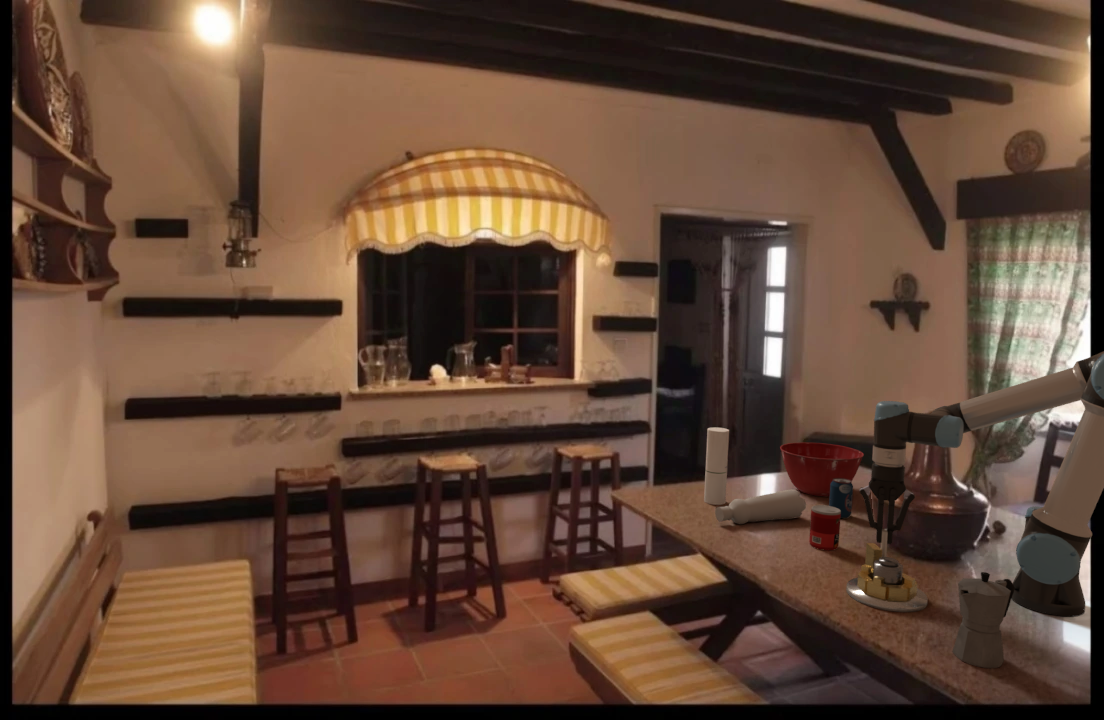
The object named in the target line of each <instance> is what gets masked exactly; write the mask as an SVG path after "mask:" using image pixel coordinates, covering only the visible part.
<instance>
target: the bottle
mask: <svg viewBox="0 0 1104 720" xmlns="http://www.w3.org/2000/svg"><path fill="white" fill-rule="evenodd" d="M800 495H801V491H797V489H793V488H792V489H786V490H785V489H784V490H779V491H776V492H773V493H767V494H762V495H757V496H752V497H751V496H750V497H747V498H745V499H742V498H735V499H733V500H732V501H731V502H729V504H728V505H725V506H717V507H716V508H715V510H714V511H715V512H714V514H715V519H716V520H717V521H718V522H726V521H732V522H733V523H735V524H738V525H744V524H746V523H748V522H749V523H750V522H753V523H755V522H763V521H774V520H789V519H791V520H792V519H795V518H797V519H798V518H800V517H801V516H802V515H803V512H804V510H806V509H807V507H806V506H807V504H806V499H804V498H803V497H801V496H800Z"/></svg>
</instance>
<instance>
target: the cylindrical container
mask: <svg viewBox="0 0 1104 720" xmlns="http://www.w3.org/2000/svg"><path fill="white" fill-rule="evenodd" d="M706 430H707V433H706V435H707V436H706V454H705V475H704V494H703V496H704V497H703V502H704V503H706V504H708V505H714V506H715V505H716V506H719V505H720V506H721V505H724V504H726V497H727V479H728V478H727V477H728V476H727V475H728V461H729V460H728V457H729V444H730V443H729V441H730V429H727V428H724V427H708V428H707V429H706Z"/></svg>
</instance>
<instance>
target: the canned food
mask: <svg viewBox="0 0 1104 720" xmlns="http://www.w3.org/2000/svg"><path fill="white" fill-rule="evenodd" d="M840 518H841V510H840V509H838V508H835V507H832V506H829V505H826V504H825V505H824V504H815V505H812V506H811V511H810V522H809V523H810V524H809V539H808V540H809V541H808V542H809V545H810V546H811V548H814V547H815V549H817V548H818V549H817V550H821V549H824V550H823V551H835V550H834V549H836V550H838V548H839V546H840V545H839V543H840V530H841V519H840Z"/></svg>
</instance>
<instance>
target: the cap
mask: <svg viewBox="0 0 1104 720" xmlns="http://www.w3.org/2000/svg"><path fill="white" fill-rule="evenodd" d="M903 571H904V566H903V564H901V563H900V562H899V560H898V559H896V558H894V557H891V556H890V557H889V556H886V557H880V558H879V560H875V561H874V570H873V578H874V577H875V576H880V577H883V578H884V584H886V585H902V573H904V572H903ZM857 584H858V577H854V578H852V579H850V580H849V581H847V582H846V593H847V594H848V596H849V597H851V598H852V599H853V600H855V601H857V602H858V603H861V604H862V605H865V606H868V607H871V608H875V609H878V610H883V611H887V612H893V613H894V612H896V613H913V612H919V611H922V610H924V609H925V608H926V607H927V606H928V596H927V594H926V593H925V592H924V591H923V590H921V589H920V588H918V587H917V594H916V596H915V597H914V598H912V599H911V600H910V601H909V600H907V601H888V600H887V599H886V600H883V599H880V598H877V597H874V596H871V595H868V594H867V593H864V592H863V591H862V590H861V589H860V588H859V587H858V586H857Z"/></svg>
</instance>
